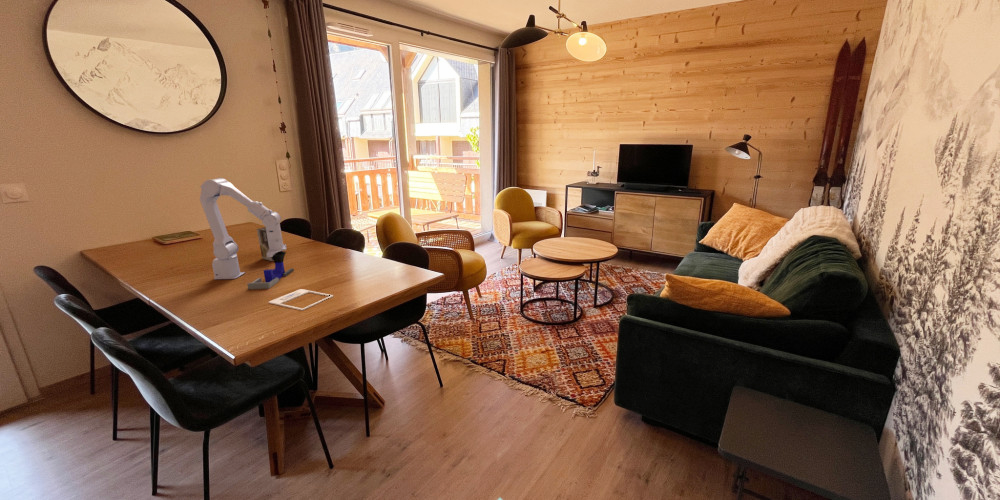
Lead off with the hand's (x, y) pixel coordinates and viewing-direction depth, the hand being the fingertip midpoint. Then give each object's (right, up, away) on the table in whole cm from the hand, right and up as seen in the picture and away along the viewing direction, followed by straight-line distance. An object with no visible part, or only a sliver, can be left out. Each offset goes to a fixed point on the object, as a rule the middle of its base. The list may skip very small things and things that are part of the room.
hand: (279, 267), depth 185 cm
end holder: (+1, -7, -14) cm, 15 cm away
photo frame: (+25, -12, -30) cm, 40 cm away
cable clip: (+1, -5, -6) cm, 8 cm away
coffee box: (-18, +4, +25) cm, 31 cm away
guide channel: (0, -3, +1) cm, 3 cm away
